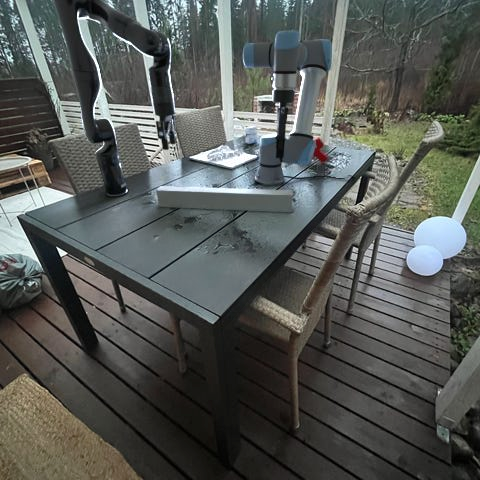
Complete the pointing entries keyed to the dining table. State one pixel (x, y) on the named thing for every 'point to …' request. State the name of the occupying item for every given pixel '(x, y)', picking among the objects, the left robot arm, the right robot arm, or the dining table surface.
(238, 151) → the relief map
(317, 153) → the toy gun
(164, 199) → the beam
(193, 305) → the dining table surface
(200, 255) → the dining table surface
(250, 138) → the ink box
